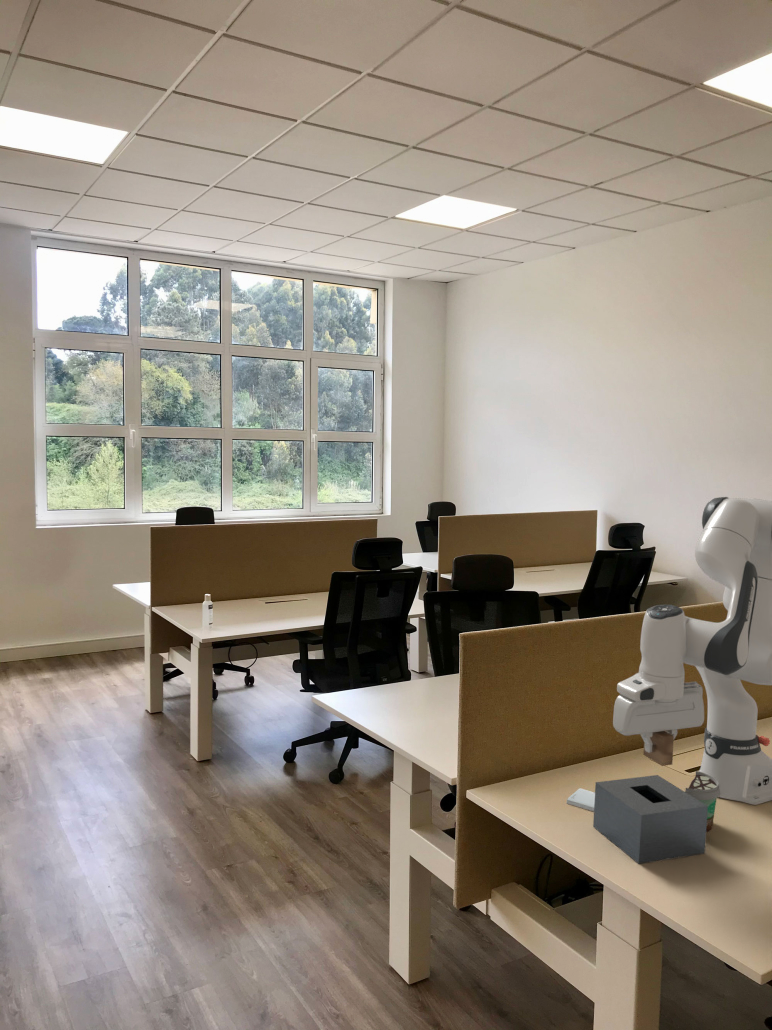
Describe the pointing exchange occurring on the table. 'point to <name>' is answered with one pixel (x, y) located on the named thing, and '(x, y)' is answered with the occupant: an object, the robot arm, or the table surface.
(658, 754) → the walnut tile
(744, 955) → the table surface
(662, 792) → the coin box
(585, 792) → the hard drive
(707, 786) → the food container
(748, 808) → the table surface
